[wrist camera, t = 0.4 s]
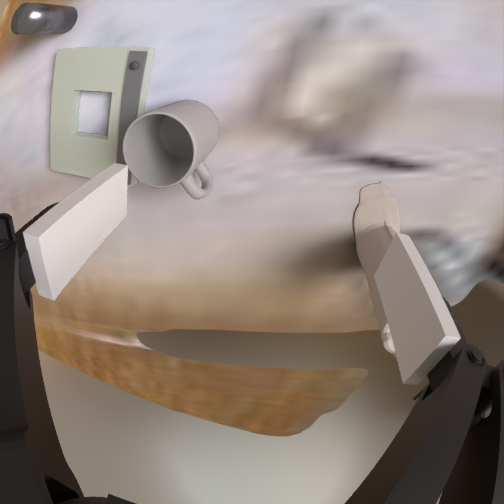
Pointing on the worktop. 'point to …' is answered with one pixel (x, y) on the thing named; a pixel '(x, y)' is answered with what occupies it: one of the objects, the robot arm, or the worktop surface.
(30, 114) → the worktop surface
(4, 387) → the robot arm
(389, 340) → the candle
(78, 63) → the plate
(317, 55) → the worktop surface
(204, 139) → the mug
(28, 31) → the grey metal cylinder
